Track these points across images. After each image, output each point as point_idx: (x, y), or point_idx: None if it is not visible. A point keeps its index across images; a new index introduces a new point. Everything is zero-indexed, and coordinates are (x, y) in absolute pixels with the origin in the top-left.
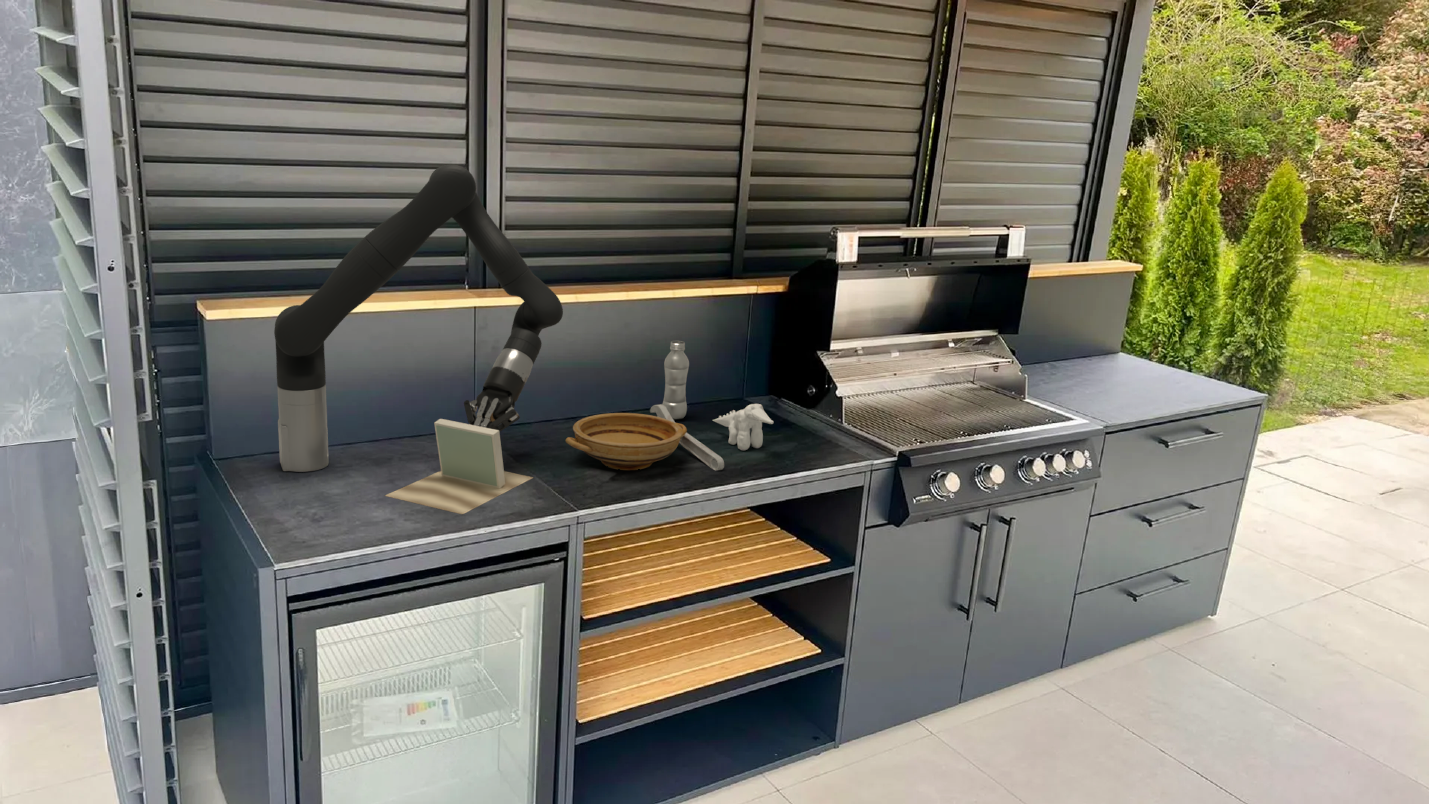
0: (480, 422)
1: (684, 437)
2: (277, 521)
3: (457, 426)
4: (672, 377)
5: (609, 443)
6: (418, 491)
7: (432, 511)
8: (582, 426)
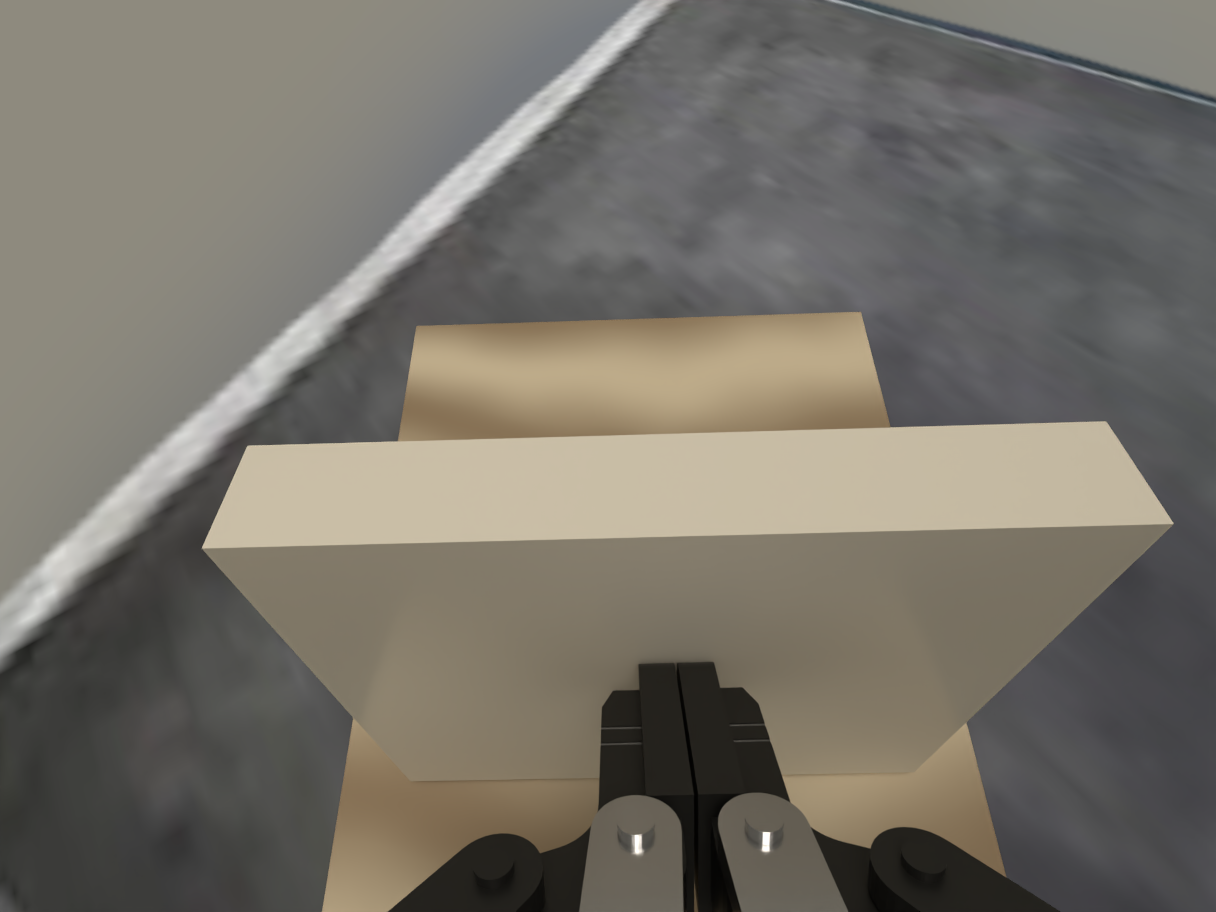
0: (729, 875)
1: None
2: (972, 85)
3: (777, 448)
4: None
5: None
6: (782, 423)
7: None
8: None
